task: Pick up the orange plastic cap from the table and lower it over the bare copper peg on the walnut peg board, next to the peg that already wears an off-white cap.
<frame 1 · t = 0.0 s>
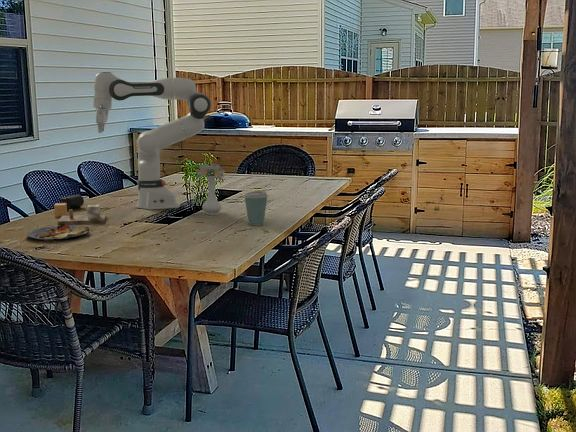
hand: (101, 132, 328), 39 cm above the table, tool pointing down, fingers open, 8 cm apart
disposable coffee cup: (255, 224, 295), on the table
end cap: (72, 209, 333), on the table
cap: (61, 215, 315), on the table
food plate: (58, 236, 271), on the table
peg board: (82, 221, 302), on the table
flower vase: (211, 214, 321), on the table
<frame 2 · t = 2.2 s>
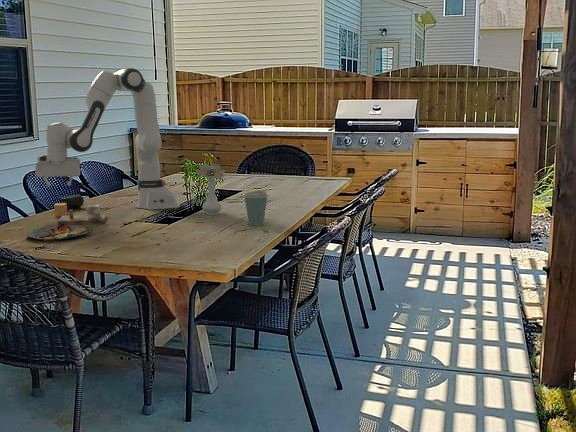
hand: (58, 185, 312), 14 cm above the table, tool pointing down, fingers open, 8 cm apart
nothing on the table moved.
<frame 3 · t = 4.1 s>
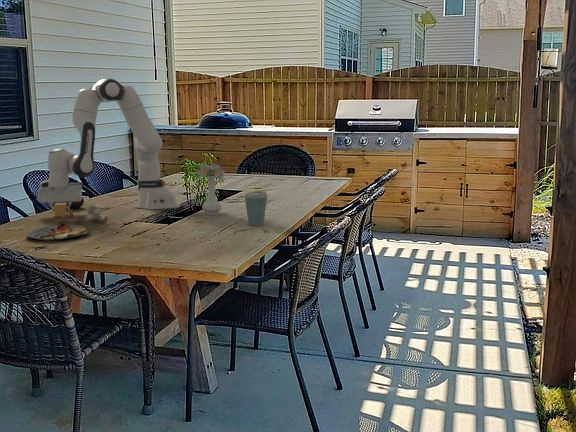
hand: (60, 211, 315), 2 cm above the table, tool pointing down, fingers closed on cap, 5 cm apart
cap: (61, 215, 315), on the table, touching gripper
everything else where it was.
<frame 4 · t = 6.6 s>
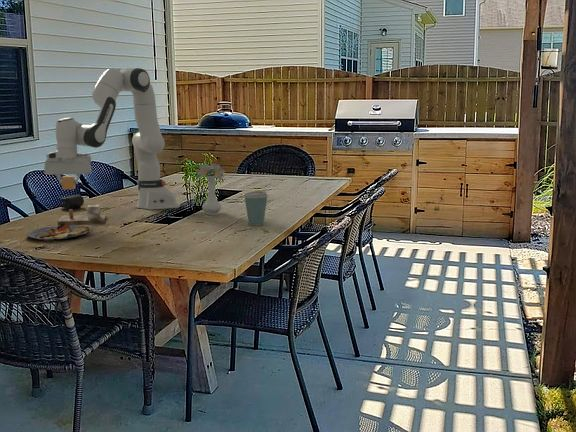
hand: (68, 184, 298), 17 cm above the table, tool pointing down, fingers closed on cap, 5 cm apart
cap: (69, 188, 298), point 15 cm above the table, touching gripper
everything else where it was.
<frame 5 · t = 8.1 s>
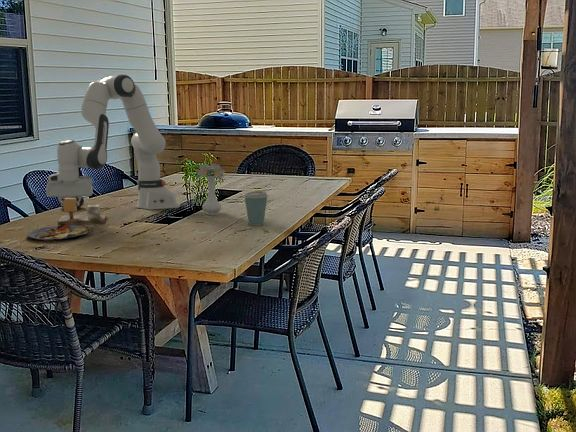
hand: (70, 206, 299), 7 cm above the table, tool pointing down, fingers closed on cap, 5 cm apart
cap: (70, 210, 300), point 5 cm above the table, touching gripper
everything else where it was.
when the fingers open (5 cm above the table, at t = 9.4 s): cap stays where it is, resting on peg board.
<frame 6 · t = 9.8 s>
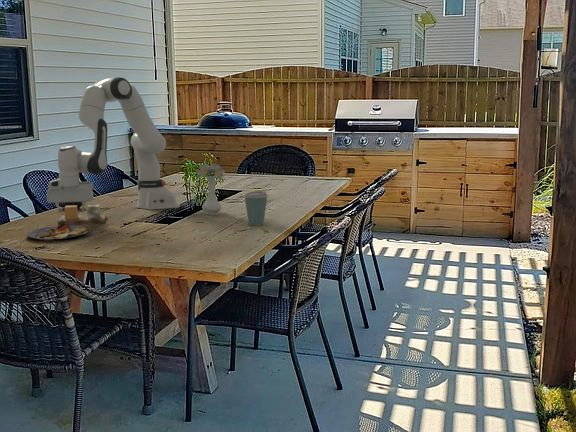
hand: (71, 211, 300), 5 cm above the table, tool pointing down, fingers open, 8 cm apart
cap: (71, 218, 300), point 1 cm above the table, touching peg board
everything else where it was.
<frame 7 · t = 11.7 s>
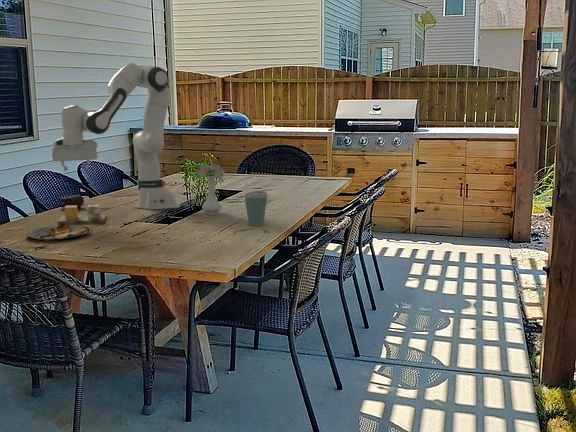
hand: (76, 169, 307), 23 cm above the table, tool pointing down, fingers open, 8 cm apart
nothing on the table moved.
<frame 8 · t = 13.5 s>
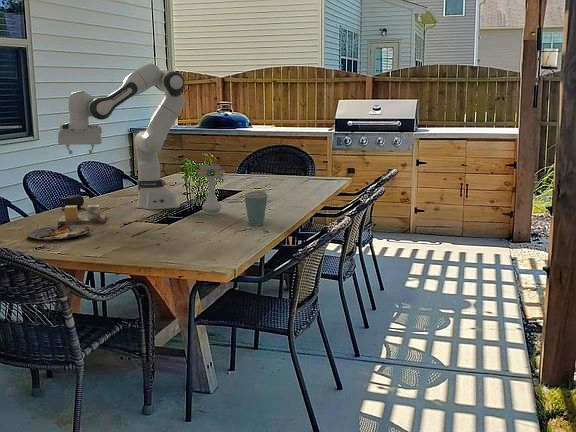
hand: (80, 153, 317), 29 cm above the table, tool pointing down, fingers open, 8 cm apart
nothing on the table moved.
at the end: cap 0.0 cm from the target spot on the peg board, point 1.5 cm above the peg board's base; cap tilted 0°; the gripper is holding nothing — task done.
